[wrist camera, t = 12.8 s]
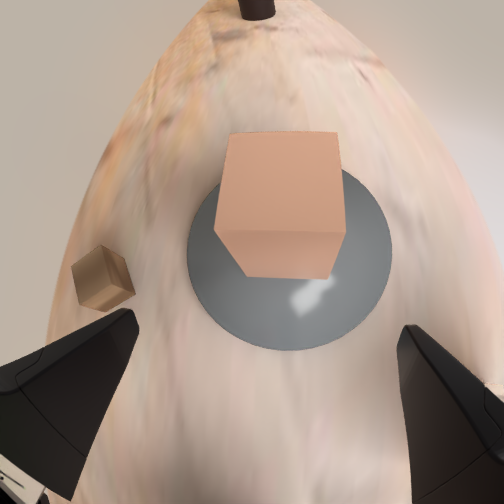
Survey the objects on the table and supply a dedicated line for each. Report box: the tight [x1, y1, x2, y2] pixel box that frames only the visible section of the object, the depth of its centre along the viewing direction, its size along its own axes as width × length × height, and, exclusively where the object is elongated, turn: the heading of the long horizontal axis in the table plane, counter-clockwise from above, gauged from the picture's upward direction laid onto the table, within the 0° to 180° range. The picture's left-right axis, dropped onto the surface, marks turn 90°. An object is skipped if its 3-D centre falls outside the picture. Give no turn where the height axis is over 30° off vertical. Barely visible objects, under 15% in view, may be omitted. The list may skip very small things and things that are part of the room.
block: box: [71, 245, 136, 312], centre depth 23 cm, size 4×4×4 cm
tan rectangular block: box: [214, 131, 346, 280], centre depth 18 cm, size 6×6×9 cm
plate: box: [187, 170, 392, 351], centre depth 23 cm, size 17×17×1 cm
